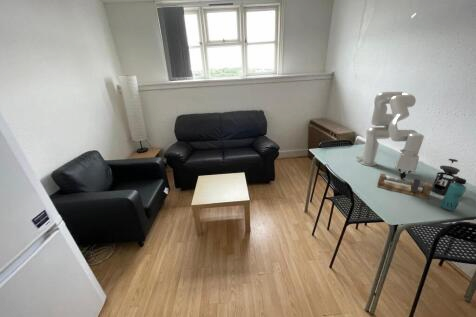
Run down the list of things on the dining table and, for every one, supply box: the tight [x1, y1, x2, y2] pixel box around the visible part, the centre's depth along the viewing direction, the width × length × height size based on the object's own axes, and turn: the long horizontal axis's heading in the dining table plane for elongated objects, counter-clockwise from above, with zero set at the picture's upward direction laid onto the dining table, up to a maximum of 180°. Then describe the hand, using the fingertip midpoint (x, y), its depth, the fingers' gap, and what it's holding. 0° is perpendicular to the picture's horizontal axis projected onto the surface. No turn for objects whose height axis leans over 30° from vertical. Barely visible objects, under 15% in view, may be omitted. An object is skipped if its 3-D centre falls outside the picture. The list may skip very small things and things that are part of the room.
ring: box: [410, 175, 421, 193], centre depth 132 cm, size 2×8×8 cm, turn 145°
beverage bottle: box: [440, 177, 467, 211], centre depth 114 cm, size 6×7×20 cm
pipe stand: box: [376, 172, 433, 200], centre depth 136 cm, size 27×10×8 cm, turn 55°
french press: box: [430, 158, 461, 196], centre depth 129 cm, size 12×9×23 cm
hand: (401, 178), depth 135 cm, fingers closed
